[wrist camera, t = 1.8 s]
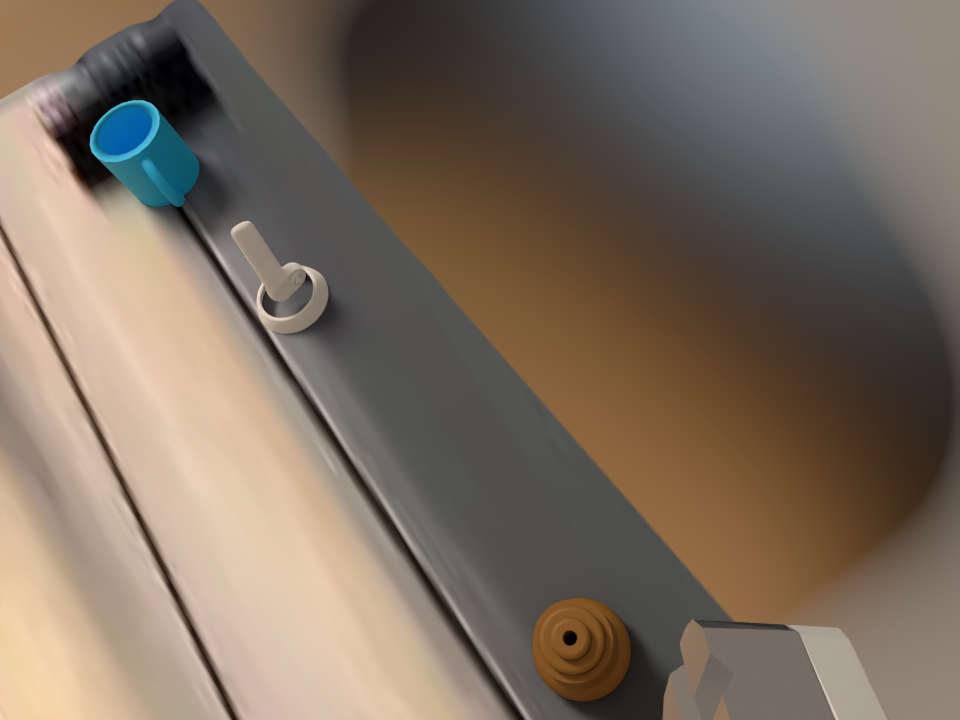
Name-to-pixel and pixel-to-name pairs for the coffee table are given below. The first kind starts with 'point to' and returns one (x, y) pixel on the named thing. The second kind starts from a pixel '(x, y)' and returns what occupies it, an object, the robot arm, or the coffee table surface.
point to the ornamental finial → (581, 649)
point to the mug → (145, 153)
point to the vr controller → (280, 281)
